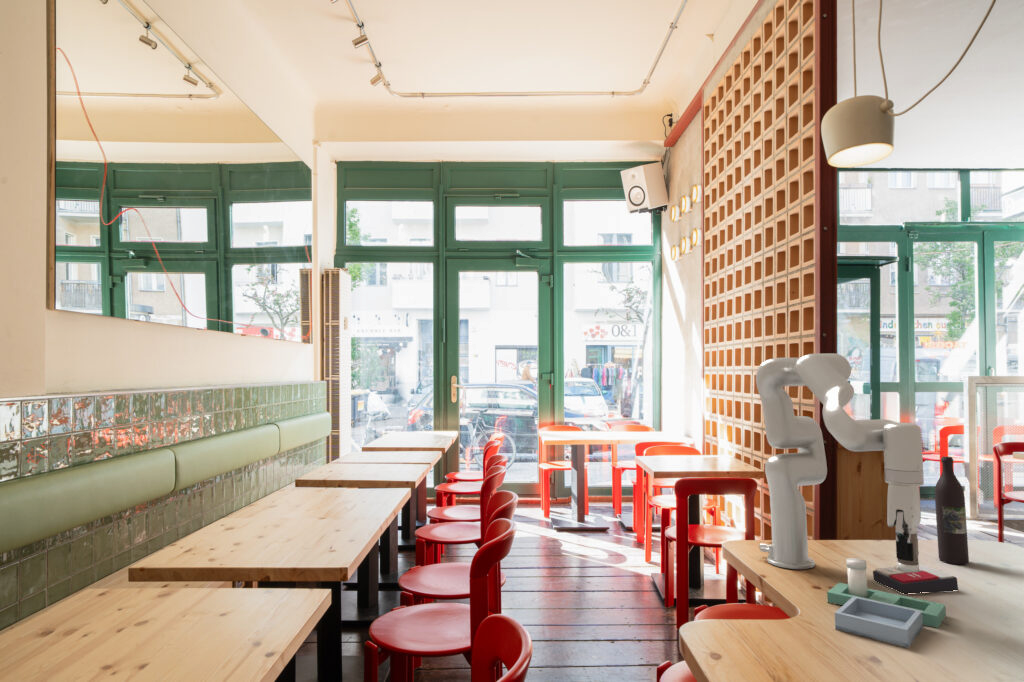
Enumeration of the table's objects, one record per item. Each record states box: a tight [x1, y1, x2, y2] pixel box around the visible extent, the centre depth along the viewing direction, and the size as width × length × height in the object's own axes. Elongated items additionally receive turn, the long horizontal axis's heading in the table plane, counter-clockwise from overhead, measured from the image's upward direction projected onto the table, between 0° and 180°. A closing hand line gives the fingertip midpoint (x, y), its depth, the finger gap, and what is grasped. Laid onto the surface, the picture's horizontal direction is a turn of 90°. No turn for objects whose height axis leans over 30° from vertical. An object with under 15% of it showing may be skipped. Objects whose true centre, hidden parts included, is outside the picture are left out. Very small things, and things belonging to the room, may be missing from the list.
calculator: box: [872, 563, 959, 594], centre depth 155 cm, size 11×4×15 cm
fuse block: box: [826, 582, 947, 629], centre depth 140 cm, size 22×9×2 cm, turn 45°
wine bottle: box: [934, 456, 970, 566], centre depth 175 cm, size 7×7×30 cm
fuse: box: [845, 557, 868, 598], centre depth 144 cm, size 4×4×10 cm
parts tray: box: [834, 596, 924, 649], centre depth 130 cm, size 13×13×4 cm
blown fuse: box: [894, 524, 920, 572], centre depth 138 cm, size 4×4×10 cm
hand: (907, 556), depth 137 cm, fingers closed on blown fuse, 4 cm apart
